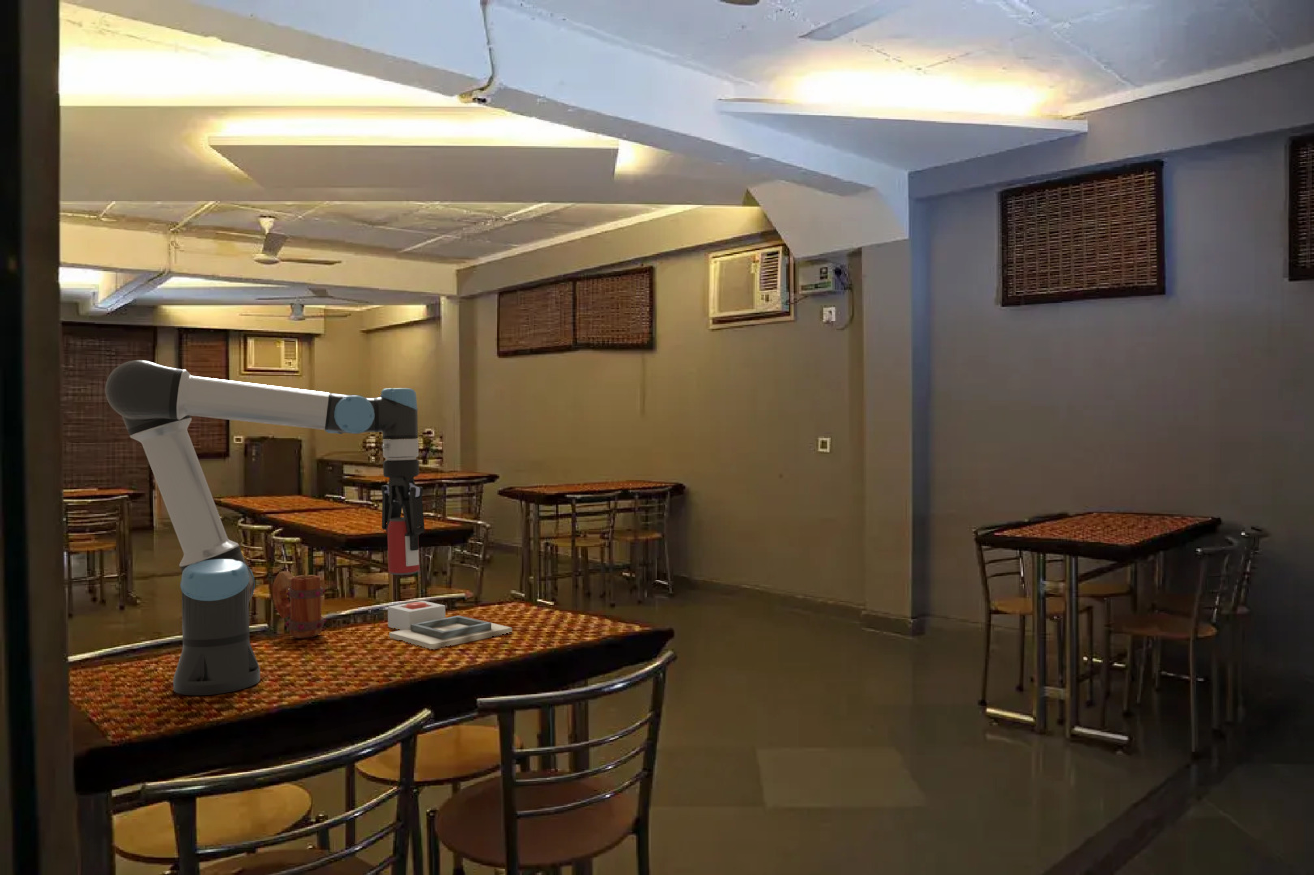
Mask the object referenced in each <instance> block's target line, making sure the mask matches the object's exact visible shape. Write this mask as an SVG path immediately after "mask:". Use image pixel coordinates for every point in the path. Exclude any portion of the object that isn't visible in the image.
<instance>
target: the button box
mask: <svg viewBox="0 0 1314 875" xmlns="http://www.w3.org/2000/svg"><path fill="white" fill-rule="evenodd" d="M414 602H415V601H413V602H412V603H414ZM418 602H424V603H426V607H424V608H418V609H408V608H406V604H408V603H409V602H408V603H407V602H406V603H403V604H401V603H400V604H395V605H390V606H387V627H388V628H391V629H394V628H396V629H395V630H398V629H400V630H405V629H411V624H416V623H421V622H427V621H432V620H438V619H443V618H446V605H444V604H439V603H435V602H432V601H431V602H430V601H425V600H419V601H418ZM400 630H399V631H400Z"/></svg>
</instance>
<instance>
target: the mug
mask: <svg viewBox="0 0 1314 875" xmlns="http://www.w3.org/2000/svg"><path fill="white" fill-rule="evenodd" d="M288 589H289V590H288ZM324 593H326V589H325V588H323V586H321V576H320V575H315V574H308V575H306V576H305V575H296V576H293V574H292V573H291V572H290V571H287V570H286V571H280V572H279V573H278V574H277V575H276V577H275V579H274V580H273V584H272V600H273V603H274V607H275V609H276V611H277V613H278V615H279V616H280V617H281V618H282V619H286V618H288V619H287V621H285V623H284V624H285V627H286V628H288V629H289V634H290V636H291V637H293V638H295V639H299V640H300V639H303V640H304V639H309V638H310V639H311V638H314V637H317V636H318V635H320V634H321V633H322V630H323V627H324V624H326V623H327V619H326V618H324V617H323V616H322V596H323V594H324ZM288 597H289V598H290V601H289V599H288Z"/></svg>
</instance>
